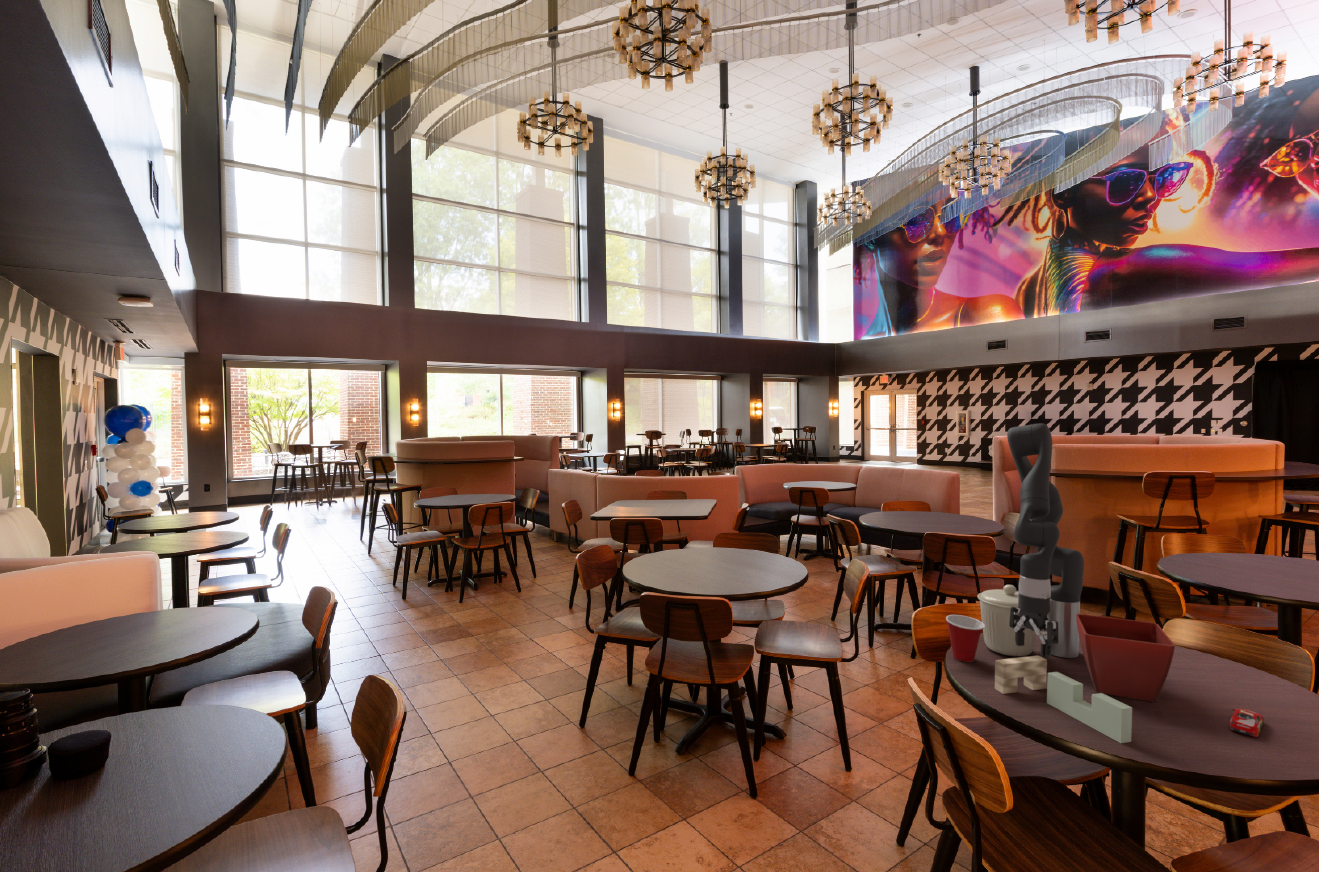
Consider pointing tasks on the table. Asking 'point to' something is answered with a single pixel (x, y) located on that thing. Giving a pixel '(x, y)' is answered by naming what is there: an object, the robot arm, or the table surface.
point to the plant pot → (1125, 656)
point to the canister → (1003, 622)
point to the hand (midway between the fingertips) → (1032, 651)
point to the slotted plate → (1020, 673)
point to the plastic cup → (964, 636)
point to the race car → (1246, 722)
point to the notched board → (1090, 707)
